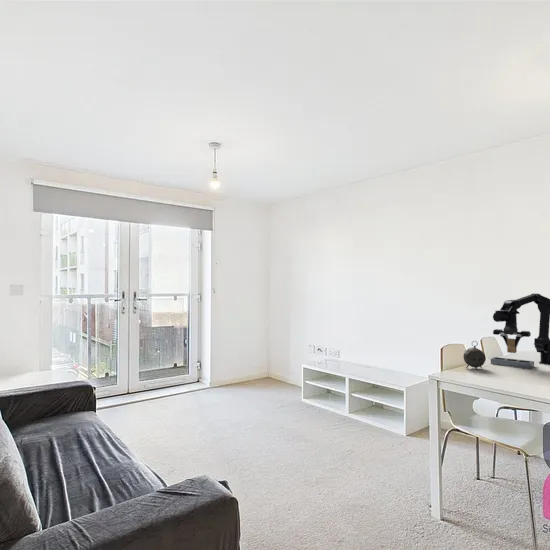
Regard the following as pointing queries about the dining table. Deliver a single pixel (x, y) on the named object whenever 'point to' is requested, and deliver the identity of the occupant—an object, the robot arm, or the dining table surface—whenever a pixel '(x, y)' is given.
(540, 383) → the dining table surface
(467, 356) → the alarm clock
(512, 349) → the square peg
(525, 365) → the rail
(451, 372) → the dining table surface
